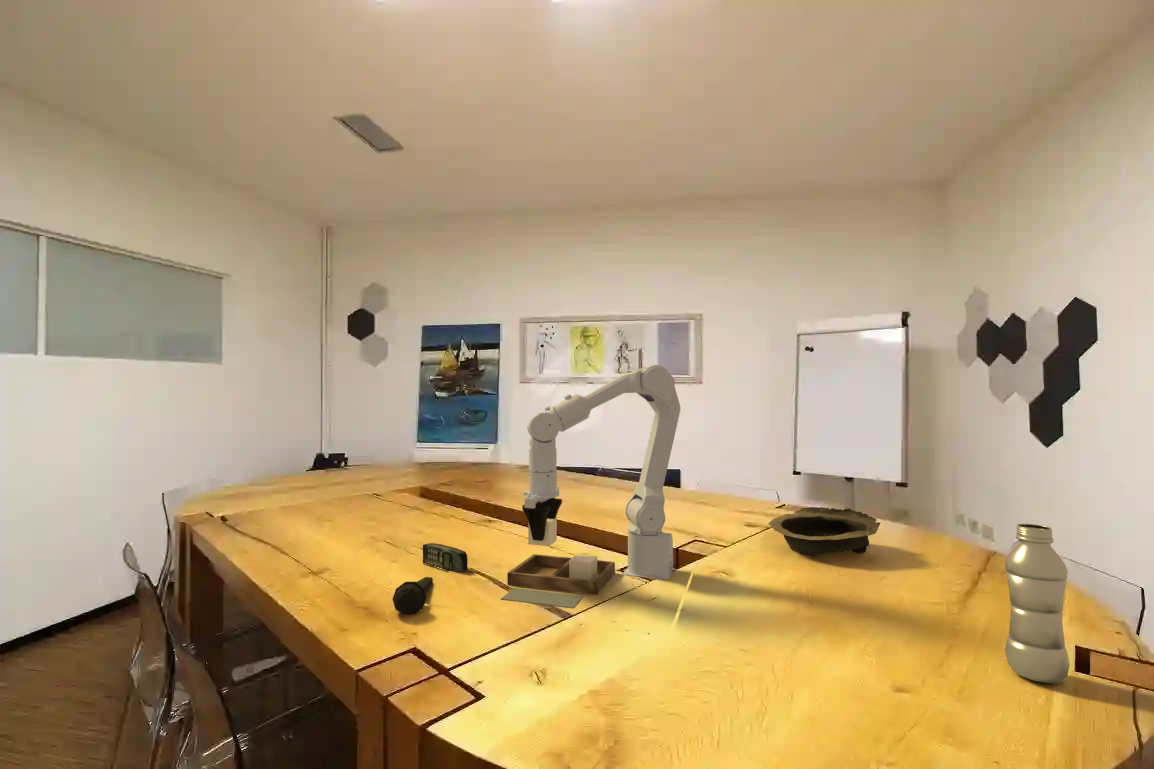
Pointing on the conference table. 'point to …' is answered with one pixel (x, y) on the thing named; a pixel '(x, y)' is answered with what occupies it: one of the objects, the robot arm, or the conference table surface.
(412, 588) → the microphone
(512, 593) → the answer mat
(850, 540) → the stone bowl
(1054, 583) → the plastic bottle
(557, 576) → the organizer
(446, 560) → the mobile phone
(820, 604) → the conference table surface
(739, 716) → the conference table surface
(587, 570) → the blank cube
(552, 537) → the letter cube
